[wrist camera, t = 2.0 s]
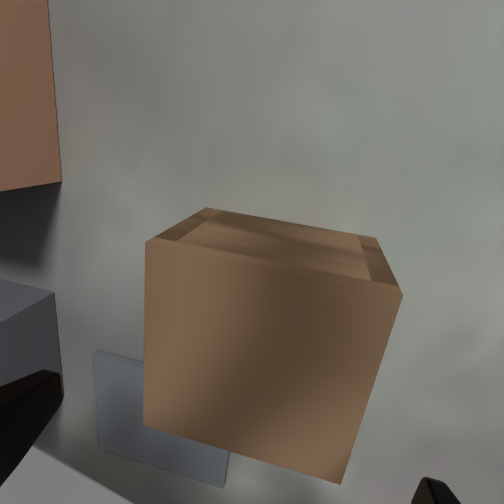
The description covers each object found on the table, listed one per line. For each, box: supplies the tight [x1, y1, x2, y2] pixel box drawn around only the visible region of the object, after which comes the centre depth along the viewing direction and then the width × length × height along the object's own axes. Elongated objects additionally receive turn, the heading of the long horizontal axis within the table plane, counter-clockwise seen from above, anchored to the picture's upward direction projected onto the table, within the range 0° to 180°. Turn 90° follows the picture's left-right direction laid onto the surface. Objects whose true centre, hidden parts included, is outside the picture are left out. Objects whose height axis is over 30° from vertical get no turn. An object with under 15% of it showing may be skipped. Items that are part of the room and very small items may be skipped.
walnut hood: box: [143, 208, 403, 485], centre depth 12 cm, size 7×7×5 cm
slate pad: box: [94, 351, 230, 488], centre depth 18 cm, size 8×7×1 cm
